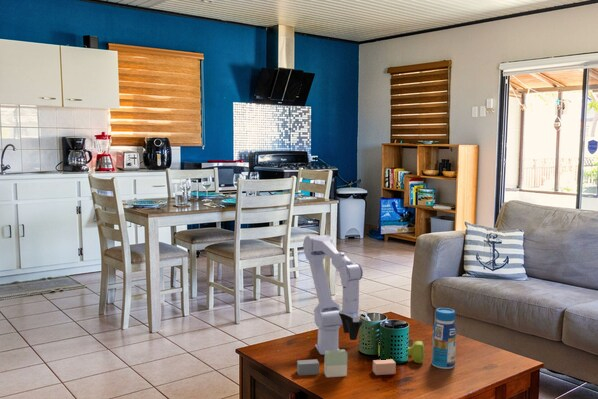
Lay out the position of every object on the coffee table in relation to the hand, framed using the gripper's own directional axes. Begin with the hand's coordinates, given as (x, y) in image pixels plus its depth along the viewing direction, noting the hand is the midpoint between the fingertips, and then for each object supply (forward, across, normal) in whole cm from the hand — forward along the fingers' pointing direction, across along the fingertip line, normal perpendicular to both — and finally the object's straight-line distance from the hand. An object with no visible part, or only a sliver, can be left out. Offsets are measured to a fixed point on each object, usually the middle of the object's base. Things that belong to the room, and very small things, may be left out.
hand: (350, 336), depth 208 cm
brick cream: (+11, +8, -7) cm, 15 cm away
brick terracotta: (+11, +8, +10) cm, 17 cm away
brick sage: (+7, +8, -7) cm, 12 cm away
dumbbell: (+11, -2, +20) cm, 23 cm away
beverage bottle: (+11, +6, +33) cm, 35 cm away
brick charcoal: (+11, +4, -16) cm, 20 cm away
